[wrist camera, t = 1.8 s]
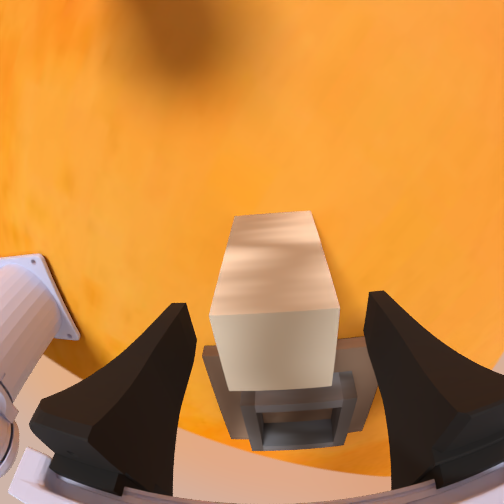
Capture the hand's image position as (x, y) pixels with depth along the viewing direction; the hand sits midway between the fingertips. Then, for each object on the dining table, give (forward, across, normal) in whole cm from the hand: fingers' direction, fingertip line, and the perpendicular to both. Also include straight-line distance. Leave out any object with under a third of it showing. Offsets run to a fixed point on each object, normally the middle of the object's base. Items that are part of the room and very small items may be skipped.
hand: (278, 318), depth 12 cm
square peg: (+6, 0, 0) cm, 6 cm away
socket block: (+6, -1, +14) cm, 15 cm away
